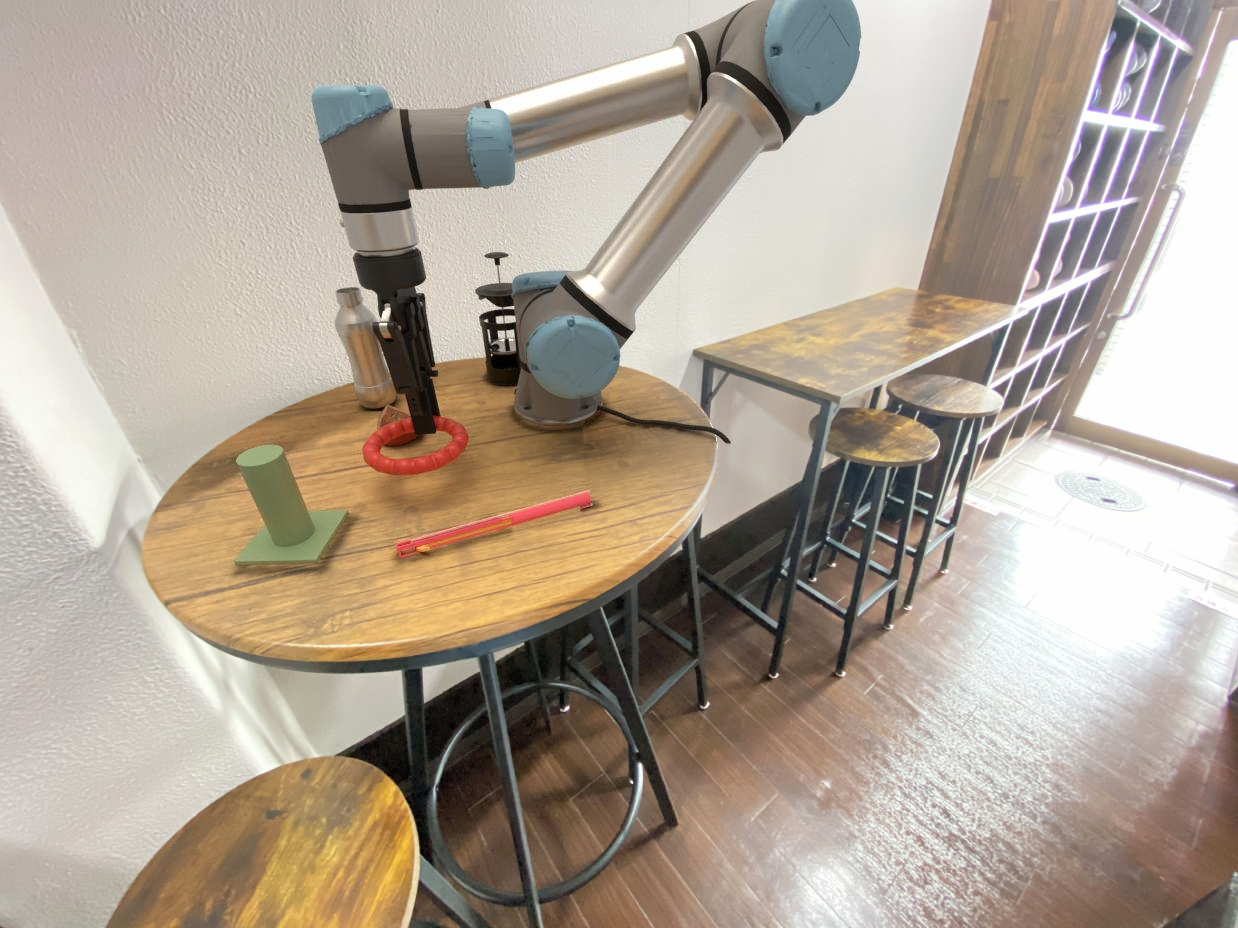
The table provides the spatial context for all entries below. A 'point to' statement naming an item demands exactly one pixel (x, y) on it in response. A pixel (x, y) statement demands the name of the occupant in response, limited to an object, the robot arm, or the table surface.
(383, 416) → the fruit slice
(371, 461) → the ring
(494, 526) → the red ballpoint pen
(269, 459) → the post
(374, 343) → the plastic bottle
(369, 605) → the table surface
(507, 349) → the french press
